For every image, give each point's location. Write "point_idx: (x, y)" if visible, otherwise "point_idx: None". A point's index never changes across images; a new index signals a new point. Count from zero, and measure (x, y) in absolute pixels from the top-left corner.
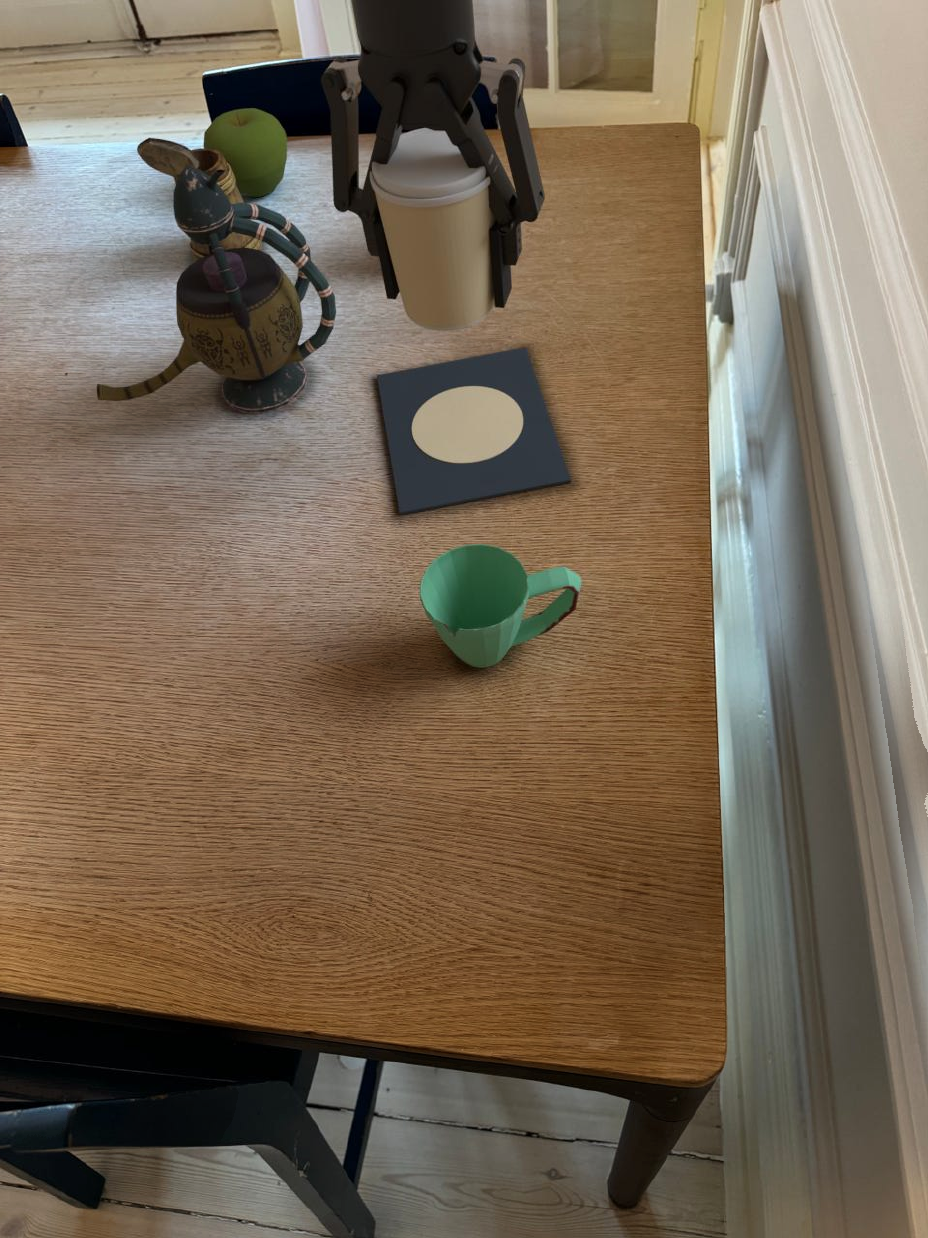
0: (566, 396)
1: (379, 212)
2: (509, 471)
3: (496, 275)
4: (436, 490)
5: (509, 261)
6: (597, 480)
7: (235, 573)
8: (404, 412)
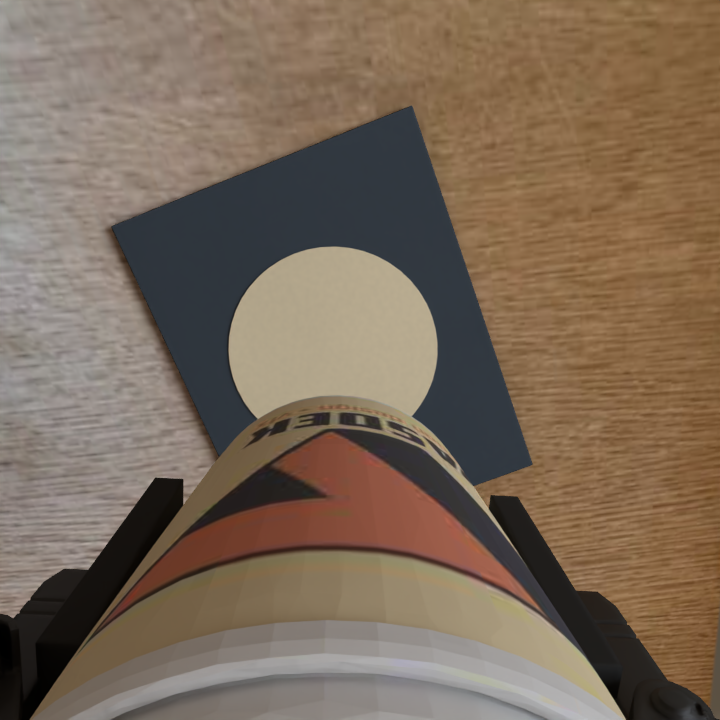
0: (507, 249)
1: (40, 700)
2: None
3: None
4: None
5: None
6: (572, 452)
7: None
8: (205, 332)
